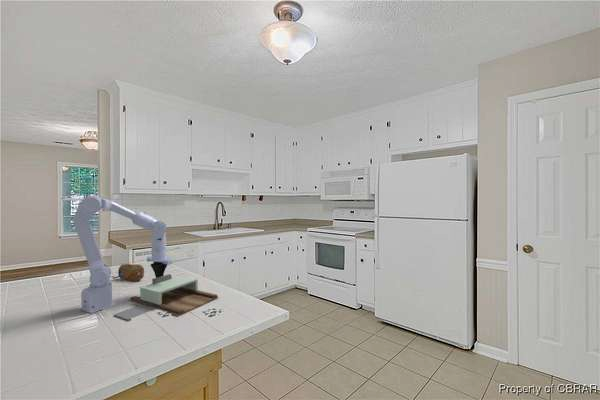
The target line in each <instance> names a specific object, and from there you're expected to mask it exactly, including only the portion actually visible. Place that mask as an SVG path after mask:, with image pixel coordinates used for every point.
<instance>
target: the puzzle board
mask: <svg viewBox="0 0 600 400" xmlns="http://www.w3.org/2000/svg"><path fill="white" fill-rule="evenodd" d="M217 299H219V296H218V294H216V293H211V292H207V291H203V290H202V291H201V290H199V289H198V290H196V291H195V290H191V289H186V288H182V287H178V288H176V289H173V290H170V291H169V295H167V296H164V297H162V304H160V305H158V304H155V303H151V302H148V301H144V300H141V299H140V296H136V295H134V296H131V297H130V300H129V302H133V303H137V304H138V305H143V306H145V307H150V308H153V309H157V310H160V311H163V312H166V313H170V315H172V316H175V317H181V316H182V315H185V314H187V313H189V312H191V311H193V310H195V309H198V308H199V307H202V306H205V305H206V304H208V303H211V302H213V301H215V300H217Z"/></svg>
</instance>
